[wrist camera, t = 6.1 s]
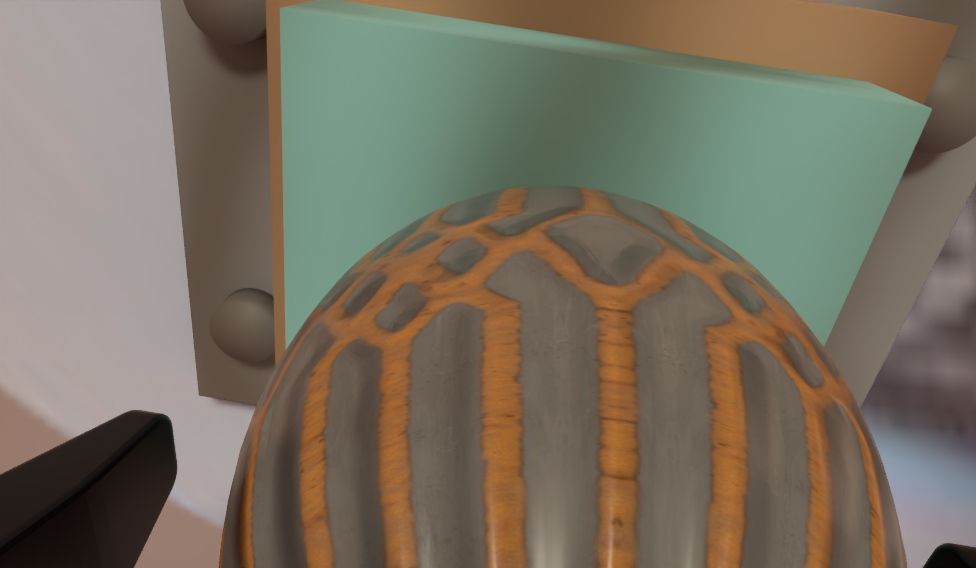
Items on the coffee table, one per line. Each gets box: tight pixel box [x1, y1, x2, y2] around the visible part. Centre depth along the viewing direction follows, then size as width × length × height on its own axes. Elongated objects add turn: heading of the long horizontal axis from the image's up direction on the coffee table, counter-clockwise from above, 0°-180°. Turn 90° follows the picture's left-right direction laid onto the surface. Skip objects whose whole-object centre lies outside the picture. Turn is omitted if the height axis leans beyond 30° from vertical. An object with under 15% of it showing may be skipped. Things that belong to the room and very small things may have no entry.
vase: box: [219, 186, 907, 568], centre depth 7 cm, size 7×7×9 cm
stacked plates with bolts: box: [161, 0, 976, 407], centre depth 14 cm, size 18×14×6 cm
